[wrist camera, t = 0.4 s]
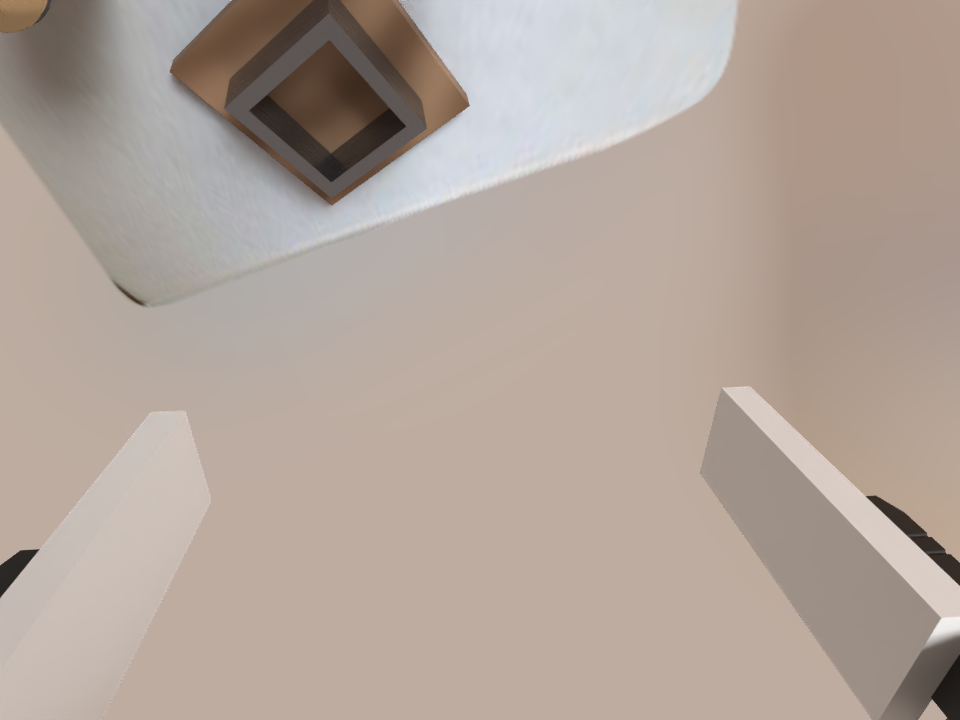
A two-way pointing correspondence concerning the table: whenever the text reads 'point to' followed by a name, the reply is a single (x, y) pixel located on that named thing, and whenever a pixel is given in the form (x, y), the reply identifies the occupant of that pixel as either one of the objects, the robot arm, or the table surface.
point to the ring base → (321, 74)
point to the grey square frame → (287, 135)
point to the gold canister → (21, 13)
